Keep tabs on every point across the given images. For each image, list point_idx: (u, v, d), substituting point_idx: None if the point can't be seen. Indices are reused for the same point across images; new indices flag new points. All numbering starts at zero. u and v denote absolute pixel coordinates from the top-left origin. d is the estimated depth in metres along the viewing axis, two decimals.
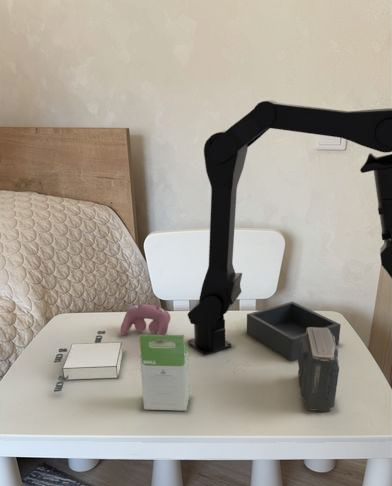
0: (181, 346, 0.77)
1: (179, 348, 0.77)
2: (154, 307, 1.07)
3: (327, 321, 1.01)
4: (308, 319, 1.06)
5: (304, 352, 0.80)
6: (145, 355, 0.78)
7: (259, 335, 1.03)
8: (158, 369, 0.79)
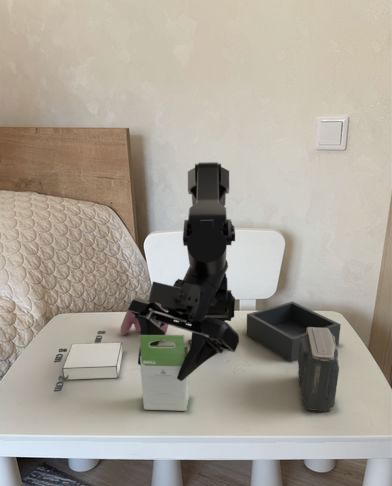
0: (181, 346, 0.77)
1: (179, 348, 0.77)
2: None
3: (327, 321, 1.01)
4: (308, 319, 1.06)
5: (304, 352, 0.80)
6: (145, 355, 0.78)
7: (259, 335, 1.03)
8: (157, 369, 0.79)
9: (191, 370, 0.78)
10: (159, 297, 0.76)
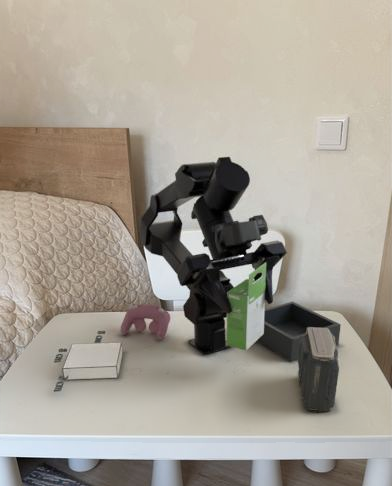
0: (264, 273, 0.86)
1: (264, 275, 0.85)
2: (154, 307, 1.07)
3: (327, 321, 1.01)
4: (308, 319, 1.06)
5: (304, 352, 0.80)
6: (250, 293, 0.82)
7: None
8: (254, 303, 0.84)
9: None
10: (249, 234, 0.81)
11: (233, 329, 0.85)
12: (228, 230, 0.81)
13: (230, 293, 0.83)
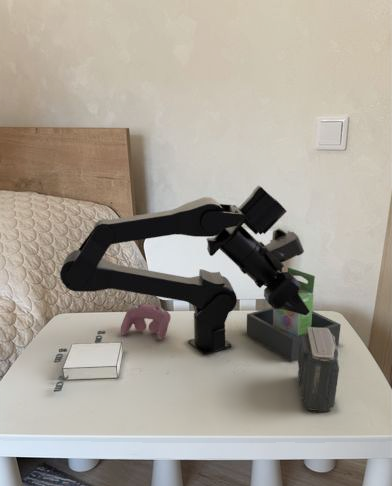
0: None
1: None
2: (154, 307, 1.07)
3: (327, 321, 1.01)
4: None
5: (304, 352, 0.80)
6: None
7: (259, 335, 1.03)
8: None
9: None
10: None
11: (303, 327, 0.99)
12: (290, 245, 0.93)
13: (302, 298, 0.97)
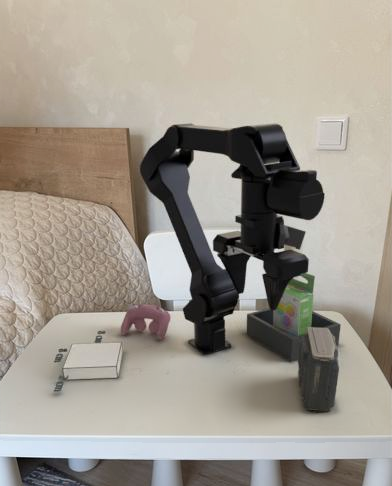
0: None
1: None
2: (154, 307, 1.07)
3: (327, 321, 1.01)
4: None
5: (304, 352, 0.80)
6: None
7: (259, 335, 1.03)
8: None
9: None
10: None
11: (303, 327, 0.99)
12: (298, 234, 0.85)
13: (302, 298, 0.97)
